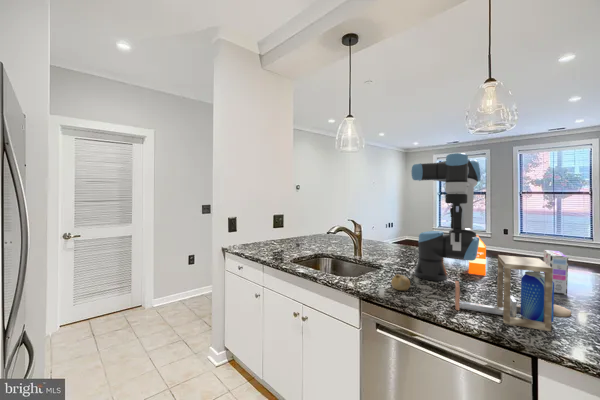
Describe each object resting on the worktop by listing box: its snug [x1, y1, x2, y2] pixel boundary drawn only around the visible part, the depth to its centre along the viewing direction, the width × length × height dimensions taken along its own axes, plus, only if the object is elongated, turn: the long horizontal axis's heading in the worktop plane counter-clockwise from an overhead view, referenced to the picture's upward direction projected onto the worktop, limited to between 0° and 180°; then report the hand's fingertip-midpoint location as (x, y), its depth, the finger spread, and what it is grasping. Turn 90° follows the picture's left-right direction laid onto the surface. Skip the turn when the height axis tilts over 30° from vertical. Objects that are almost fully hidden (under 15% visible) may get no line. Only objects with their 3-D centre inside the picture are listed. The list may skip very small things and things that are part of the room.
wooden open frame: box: [496, 254, 553, 332], centre depth 95 cm, size 12×14×20 cm
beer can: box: [520, 270, 555, 324], centre depth 94 cm, size 8×8×16 cm
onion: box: [390, 273, 411, 292], centre depth 124 cm, size 8×8×7 cm
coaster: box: [553, 304, 572, 318], centre depth 102 cm, size 11×11×1 cm
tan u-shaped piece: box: [454, 280, 518, 318], centre depth 101 cm, size 18×7×9 cm, turn 62°
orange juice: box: [468, 234, 487, 276], centre depth 150 cm, size 8×9×20 cm
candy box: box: [543, 249, 569, 296], centre depth 123 cm, size 14×6×16 cm, turn 148°
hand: (455, 247), depth 109 cm, fingers open, 13 cm apart
